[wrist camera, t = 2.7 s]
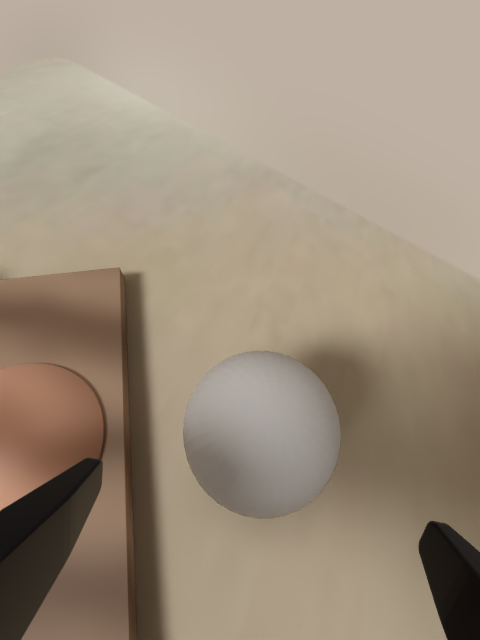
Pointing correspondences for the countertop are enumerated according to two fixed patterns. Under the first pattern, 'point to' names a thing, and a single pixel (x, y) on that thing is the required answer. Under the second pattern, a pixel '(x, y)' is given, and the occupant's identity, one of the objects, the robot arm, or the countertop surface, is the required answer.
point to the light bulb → (262, 434)
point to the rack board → (72, 437)
